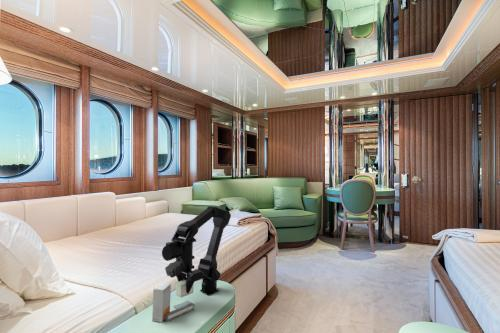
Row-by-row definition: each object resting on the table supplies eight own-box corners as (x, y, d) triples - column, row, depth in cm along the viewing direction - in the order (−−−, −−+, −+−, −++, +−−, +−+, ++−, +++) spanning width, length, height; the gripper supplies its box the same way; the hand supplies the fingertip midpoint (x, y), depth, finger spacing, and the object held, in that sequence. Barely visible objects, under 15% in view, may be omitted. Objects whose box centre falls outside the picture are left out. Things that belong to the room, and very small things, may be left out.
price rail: (191, 308, 106) (191, 302, 106) (193, 309, 105) (193, 303, 105) (165, 320, 97) (165, 313, 97) (167, 321, 96) (167, 315, 96)
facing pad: (187, 300, 112) (187, 300, 112) (194, 304, 109) (194, 304, 109) (173, 306, 107) (173, 306, 107) (180, 311, 104) (180, 310, 104)
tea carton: (175, 294, 107) (175, 282, 108) (187, 289, 112) (188, 278, 112) (181, 297, 105) (181, 285, 105) (193, 292, 109) (193, 281, 109)
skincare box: (162, 322, 96) (163, 290, 96) (151, 321, 97) (152, 289, 97) (170, 314, 102) (171, 283, 102) (160, 312, 103) (161, 282, 103)
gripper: (156, 253, 109) (155, 290, 109) (181, 264, 96) (180, 306, 96) (179, 247, 117) (178, 282, 117) (205, 257, 105) (204, 296, 104)
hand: (184, 291), depth 108 cm, fingers closed on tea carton, 4 cm apart
